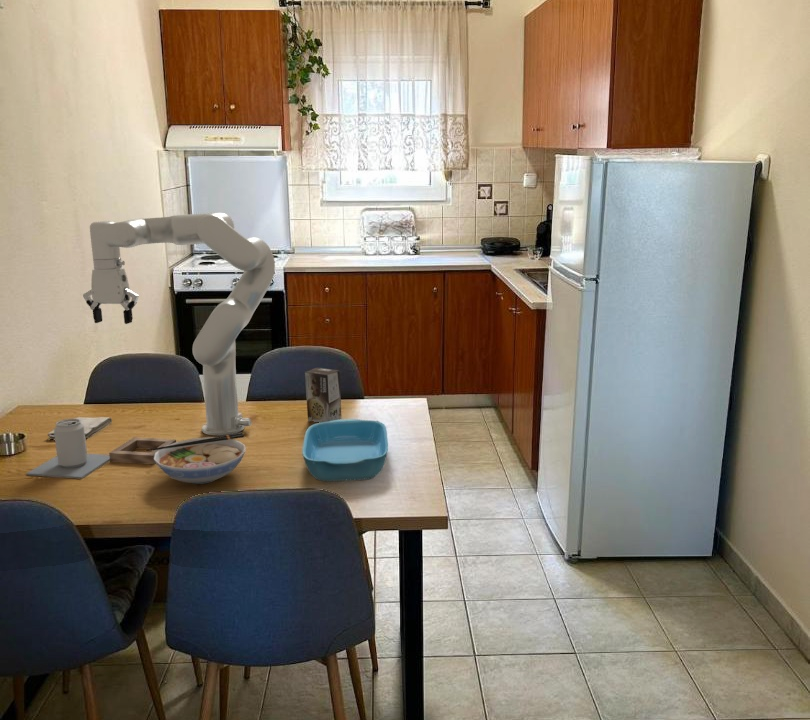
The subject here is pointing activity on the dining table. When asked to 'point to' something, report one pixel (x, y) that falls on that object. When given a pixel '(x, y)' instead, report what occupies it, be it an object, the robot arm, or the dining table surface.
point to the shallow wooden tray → (128, 456)
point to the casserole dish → (345, 449)
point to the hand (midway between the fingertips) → (113, 322)
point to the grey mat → (56, 470)
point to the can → (70, 443)
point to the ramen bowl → (200, 458)
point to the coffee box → (323, 395)
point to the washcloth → (90, 425)
